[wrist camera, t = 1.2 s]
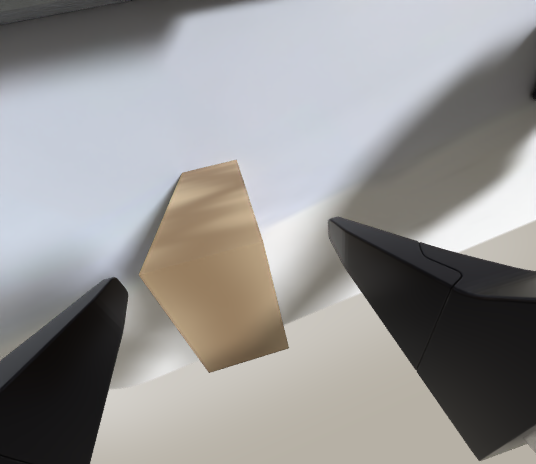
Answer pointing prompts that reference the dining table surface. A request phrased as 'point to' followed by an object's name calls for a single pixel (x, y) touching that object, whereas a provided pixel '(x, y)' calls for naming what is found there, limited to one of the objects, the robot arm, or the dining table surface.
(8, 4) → the grey slotted plate
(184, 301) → the oak wedge
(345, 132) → the dining table surface
